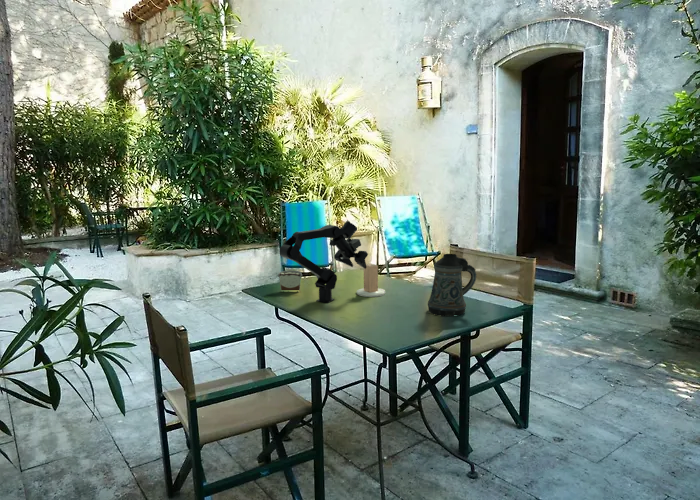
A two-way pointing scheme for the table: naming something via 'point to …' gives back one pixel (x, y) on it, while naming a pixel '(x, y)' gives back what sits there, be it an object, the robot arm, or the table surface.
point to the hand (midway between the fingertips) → (359, 267)
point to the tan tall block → (371, 278)
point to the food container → (290, 280)
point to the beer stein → (450, 286)
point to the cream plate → (372, 294)
